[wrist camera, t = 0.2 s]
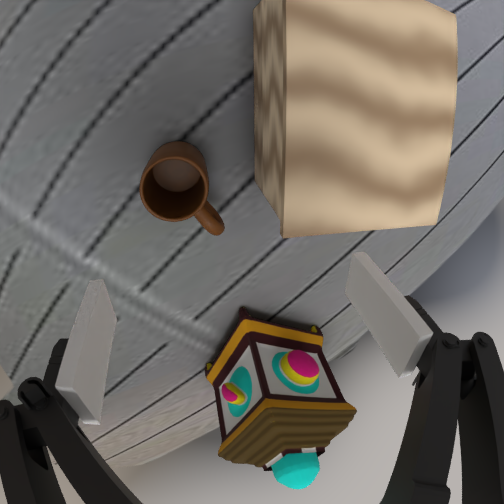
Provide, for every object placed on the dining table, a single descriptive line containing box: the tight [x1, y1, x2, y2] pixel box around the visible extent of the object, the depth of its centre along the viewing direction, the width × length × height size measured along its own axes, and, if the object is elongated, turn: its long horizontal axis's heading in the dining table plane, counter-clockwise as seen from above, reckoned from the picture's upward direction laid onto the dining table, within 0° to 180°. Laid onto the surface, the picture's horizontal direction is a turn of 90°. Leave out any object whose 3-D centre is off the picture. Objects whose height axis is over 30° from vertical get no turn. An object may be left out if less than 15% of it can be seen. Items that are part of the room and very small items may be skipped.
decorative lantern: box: [205, 307, 357, 489], centre depth 46 cm, size 20×20×30 cm
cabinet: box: [253, 0, 457, 238], centre depth 30 cm, size 25×20×16 cm
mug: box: [139, 141, 225, 236], centre depth 36 cm, size 12×8×9 cm, turn 38°
